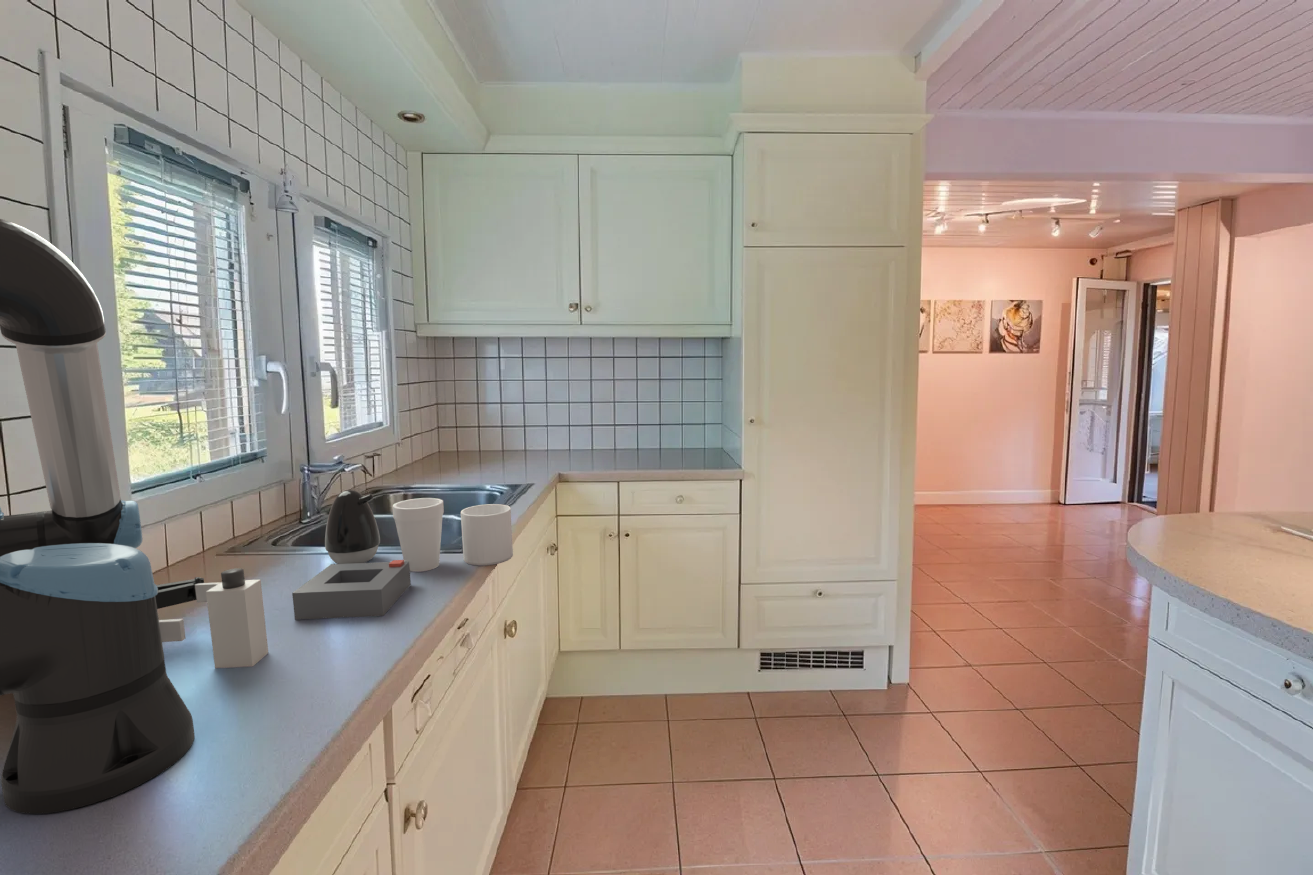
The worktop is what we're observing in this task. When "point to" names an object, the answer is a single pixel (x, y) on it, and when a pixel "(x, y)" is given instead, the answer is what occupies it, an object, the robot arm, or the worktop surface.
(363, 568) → the socket
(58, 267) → the robot arm
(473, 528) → the mug
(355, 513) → the pump dispenser
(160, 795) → the worktop surface
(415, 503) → the foam cup
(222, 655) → the plug
